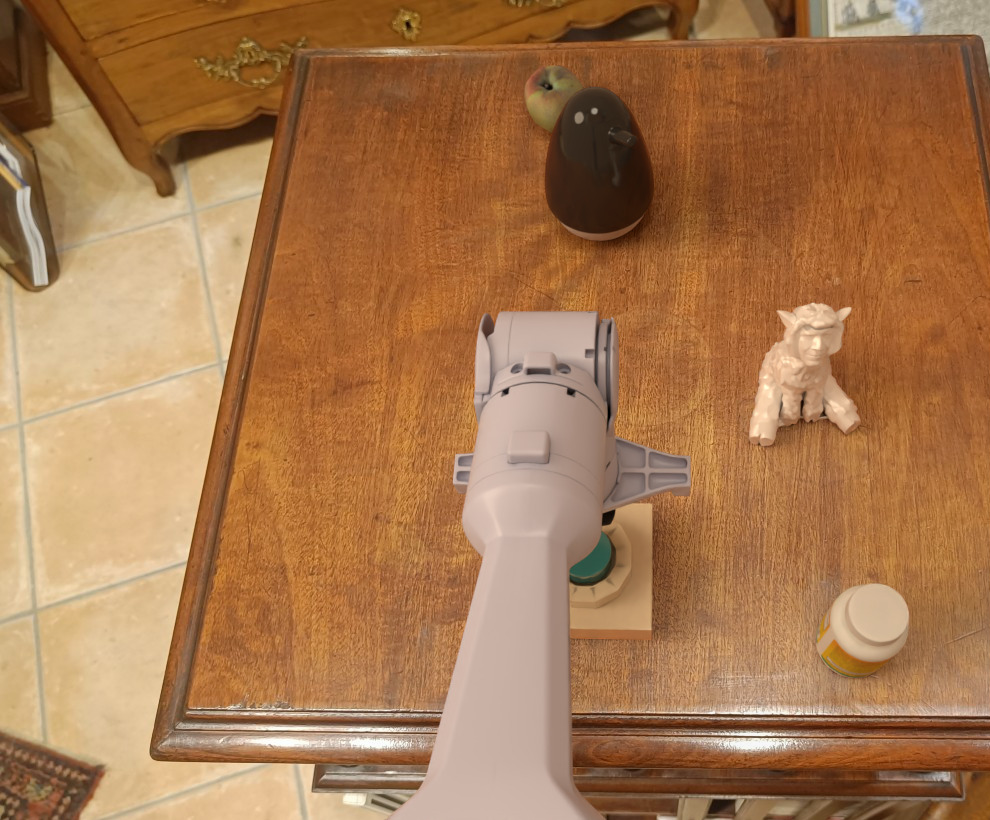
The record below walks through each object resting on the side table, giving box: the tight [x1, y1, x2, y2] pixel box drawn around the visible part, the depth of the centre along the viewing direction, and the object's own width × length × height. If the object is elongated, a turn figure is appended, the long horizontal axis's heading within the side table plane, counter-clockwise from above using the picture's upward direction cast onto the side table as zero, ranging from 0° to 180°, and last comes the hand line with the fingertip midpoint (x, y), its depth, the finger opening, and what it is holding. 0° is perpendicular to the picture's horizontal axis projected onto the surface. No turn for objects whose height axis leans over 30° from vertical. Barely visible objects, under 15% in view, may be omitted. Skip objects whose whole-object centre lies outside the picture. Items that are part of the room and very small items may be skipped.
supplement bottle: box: [815, 582, 910, 679], centre depth 65 cm, size 5×5×10 cm
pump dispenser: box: [544, 86, 655, 242], centre depth 83 cm, size 10×10×15 cm
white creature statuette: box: [748, 302, 862, 447], centre depth 74 cm, size 10×9×12 cm
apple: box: [523, 64, 585, 134], centre depth 93 cm, size 6×8×6 cm
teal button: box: [569, 530, 612, 583], centre depth 68 cm, size 4×4×2 cm
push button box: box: [569, 502, 654, 641], centre depth 71 cm, size 10×10×5 cm
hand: (581, 515), depth 65 cm, fingers closed
